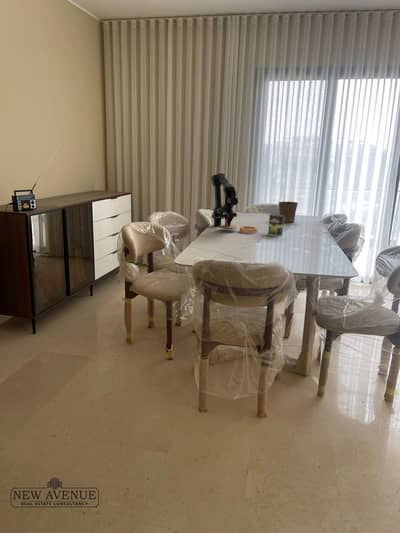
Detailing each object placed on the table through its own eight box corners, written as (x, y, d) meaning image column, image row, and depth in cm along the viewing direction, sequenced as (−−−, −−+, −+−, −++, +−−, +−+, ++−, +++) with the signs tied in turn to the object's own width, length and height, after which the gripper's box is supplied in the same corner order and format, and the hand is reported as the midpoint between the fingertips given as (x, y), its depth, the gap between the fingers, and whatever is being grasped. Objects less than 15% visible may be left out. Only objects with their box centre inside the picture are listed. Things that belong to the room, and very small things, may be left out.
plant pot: (275, 222, 325) (277, 203, 321) (277, 219, 340) (279, 201, 336) (295, 224, 321) (297, 204, 316) (296, 220, 336) (298, 202, 331)
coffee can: (280, 236, 274) (281, 216, 270) (266, 234, 278) (267, 215, 274) (284, 233, 282) (285, 214, 278) (270, 232, 287) (272, 213, 283)
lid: (216, 226, 290) (216, 218, 288) (232, 225, 294) (232, 217, 292) (222, 229, 278) (223, 221, 277) (239, 228, 282) (239, 220, 281)
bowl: (237, 231, 289) (238, 226, 288) (252, 230, 293) (252, 225, 292) (244, 234, 278) (244, 229, 277) (259, 233, 282) (260, 228, 281)
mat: (215, 229, 291) (215, 229, 291) (232, 229, 296) (232, 228, 296) (222, 233, 279) (222, 233, 279) (239, 232, 283) (239, 232, 283)
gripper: (213, 202, 287) (212, 222, 291) (223, 205, 270) (222, 227, 275) (227, 201, 290) (226, 222, 295) (237, 205, 274) (236, 227, 278)
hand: (227, 224), depth 286 cm, fingers closed on lid, 3 cm apart
